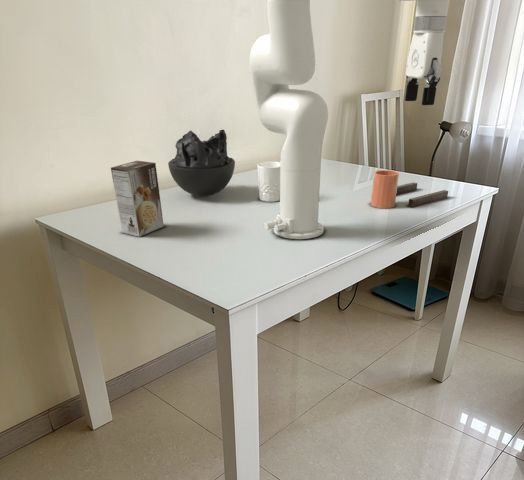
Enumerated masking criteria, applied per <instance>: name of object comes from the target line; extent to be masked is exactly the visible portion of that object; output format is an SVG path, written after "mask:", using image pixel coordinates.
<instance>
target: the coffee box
mask: <svg viewBox="0 0 524 480" xmlns="http://www.w3.org/2000/svg"><path fill="white" fill-rule="evenodd" d="M156 164H157V163H156V162H152V161H151V162H150V161H143V160H135V161H131V162H126V163H123V164H119V165H116V166H112V167H110V171H111V177H112V184H113V189H114V194H115V199H116V205H117V212H118V216H119V223H120V229H121V233H122V234H126V235H130V236H135V237H143V236H145V235H147V234H150V233H152V232H154V231H156V230H159V229H162V228H164V227H165V226H164V224H165V223H164V218H163V209H162V203H161V194H160V187H159V179H158V172H157V165H156Z"/></svg>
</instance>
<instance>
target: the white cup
mask: <svg viewBox="0 0 524 480" xmlns="http://www.w3.org/2000/svg"><path fill="white" fill-rule="evenodd" d="M256 168H257V184H258V196H259V198H258V199H259V200H260V201H262V202H267V203H269V202H270V203H274V202H280V161H261V162H258V163H257V164H256Z"/></svg>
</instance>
